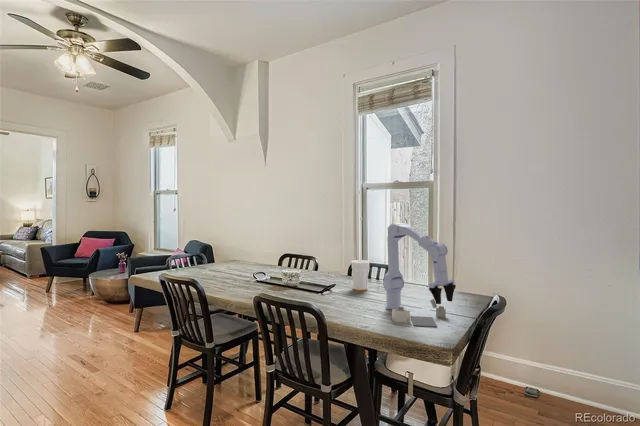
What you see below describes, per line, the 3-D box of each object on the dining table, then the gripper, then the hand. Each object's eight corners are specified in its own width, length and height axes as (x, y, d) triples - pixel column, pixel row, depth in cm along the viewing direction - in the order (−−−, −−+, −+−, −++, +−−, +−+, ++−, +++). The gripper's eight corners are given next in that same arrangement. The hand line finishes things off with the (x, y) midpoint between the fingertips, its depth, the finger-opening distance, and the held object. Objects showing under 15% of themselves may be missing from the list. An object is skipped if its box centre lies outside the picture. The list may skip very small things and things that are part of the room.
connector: (391, 319, 161) (391, 305, 161) (409, 320, 160) (409, 306, 160) (392, 321, 158) (392, 307, 158) (410, 322, 157) (410, 308, 157)
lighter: (445, 317, 164) (446, 300, 164) (444, 318, 163) (445, 301, 162) (430, 314, 168) (430, 298, 168) (429, 315, 167) (429, 299, 166)
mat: (410, 317, 164) (410, 316, 164) (432, 318, 163) (432, 317, 163) (413, 326, 152) (413, 325, 152) (437, 327, 151) (437, 326, 151)
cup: (373, 289, 215) (373, 261, 214) (359, 292, 208) (359, 263, 208) (361, 286, 224) (361, 259, 224) (347, 288, 218) (347, 261, 217)
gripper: (436, 273, 146) (440, 306, 145) (458, 269, 154) (462, 300, 152) (423, 273, 152) (427, 304, 150) (445, 269, 160) (449, 299, 158)
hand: (444, 302), depth 152 cm, fingers open, 7 cm apart
